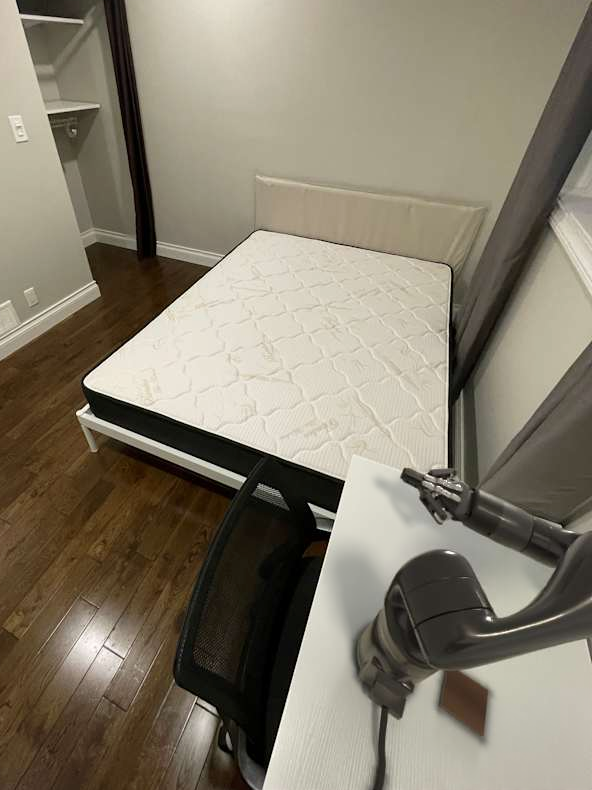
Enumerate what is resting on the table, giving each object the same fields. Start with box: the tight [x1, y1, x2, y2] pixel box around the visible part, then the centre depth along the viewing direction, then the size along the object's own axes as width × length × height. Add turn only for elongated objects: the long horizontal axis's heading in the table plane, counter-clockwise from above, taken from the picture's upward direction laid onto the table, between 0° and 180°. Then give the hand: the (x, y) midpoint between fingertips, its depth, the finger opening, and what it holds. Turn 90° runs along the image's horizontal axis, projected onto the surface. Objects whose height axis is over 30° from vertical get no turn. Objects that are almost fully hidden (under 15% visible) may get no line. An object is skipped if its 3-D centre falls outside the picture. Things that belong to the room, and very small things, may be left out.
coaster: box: [439, 670, 489, 737], centre depth 58 cm, size 6×6×1 cm
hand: (402, 472), depth 74 cm, fingers closed
